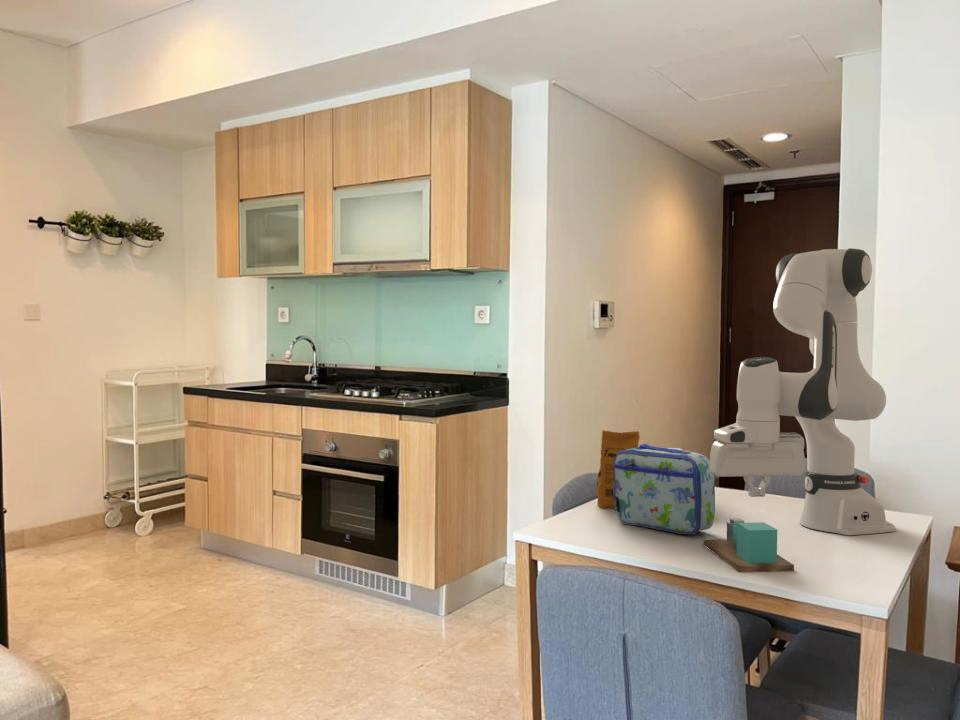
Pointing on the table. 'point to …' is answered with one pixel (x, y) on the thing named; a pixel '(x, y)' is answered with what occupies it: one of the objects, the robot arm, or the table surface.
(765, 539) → the matte teal cube
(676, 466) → the lunch box
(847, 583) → the table surface
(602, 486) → the coffee package
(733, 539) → the steel post
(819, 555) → the table surface
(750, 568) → the walnut board
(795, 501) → the table surface
